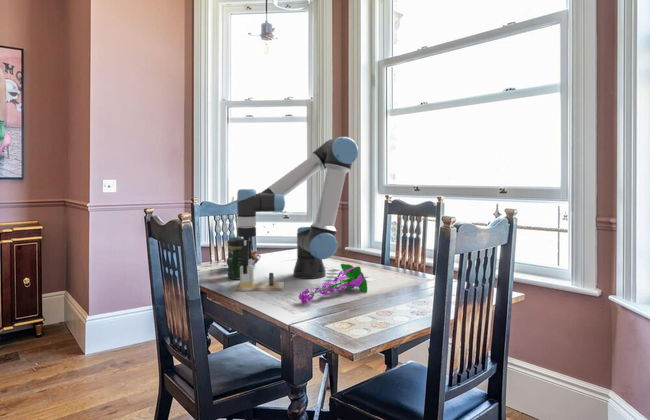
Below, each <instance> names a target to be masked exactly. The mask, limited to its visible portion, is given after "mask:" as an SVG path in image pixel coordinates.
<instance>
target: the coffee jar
mask: <svg viewBox="0 0 650 420" xmlns="http://www.w3.org/2000/svg"><path fill="white" fill-rule="evenodd" d="M242 240H243V237H239V236H236V237H230V238H228V240H227V256H228V257H227V259H228V265H227V277H228V278H229V279H232V280H240V267H241V266H240V264H241V260H242V244H241V243H242Z"/></svg>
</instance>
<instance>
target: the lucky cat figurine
mask: <svg viewBox="0 0 650 420" xmlns="http://www.w3.org/2000/svg"><path fill="white" fill-rule="evenodd" d="M252 256H253V259H252V265H253V268H255V265H256V264H257V263H258V262H259V261H260V259H261V254H258V252H257V251H253V250H252ZM226 265H227V266H228V258H227V259H226Z"/></svg>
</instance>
